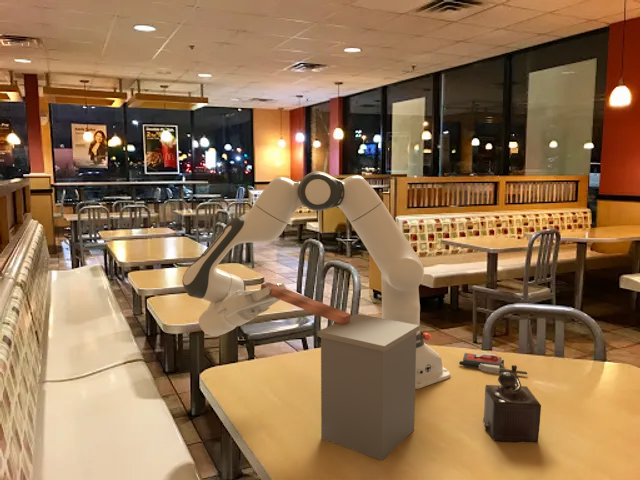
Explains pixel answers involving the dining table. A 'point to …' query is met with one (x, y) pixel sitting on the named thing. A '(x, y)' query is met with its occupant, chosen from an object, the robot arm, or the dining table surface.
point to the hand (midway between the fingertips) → (275, 288)
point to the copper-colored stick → (308, 304)
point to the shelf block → (368, 384)
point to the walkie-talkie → (485, 362)
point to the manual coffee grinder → (511, 410)
